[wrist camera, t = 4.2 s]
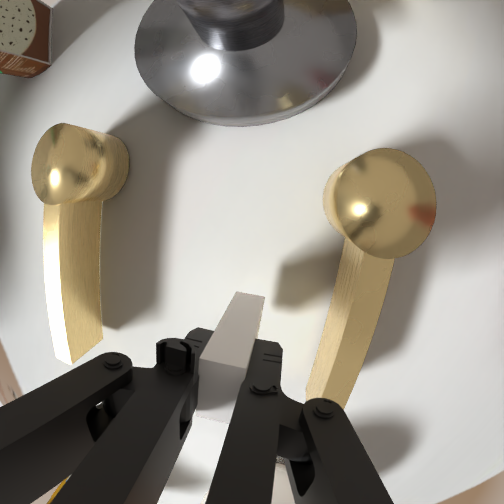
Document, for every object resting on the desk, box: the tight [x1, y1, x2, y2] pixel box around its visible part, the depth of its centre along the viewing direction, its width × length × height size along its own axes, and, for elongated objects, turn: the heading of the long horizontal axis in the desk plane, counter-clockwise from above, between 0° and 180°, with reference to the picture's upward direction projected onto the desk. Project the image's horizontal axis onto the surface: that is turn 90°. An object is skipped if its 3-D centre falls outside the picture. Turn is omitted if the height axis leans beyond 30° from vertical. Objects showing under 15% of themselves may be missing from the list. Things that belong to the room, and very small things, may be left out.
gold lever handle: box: [306, 148, 436, 410], centre depth 13 cm, size 14×4×5 cm, turn 172°
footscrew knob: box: [31, 123, 129, 365], centre depth 15 cm, size 14×4×5 cm, turn 172°
